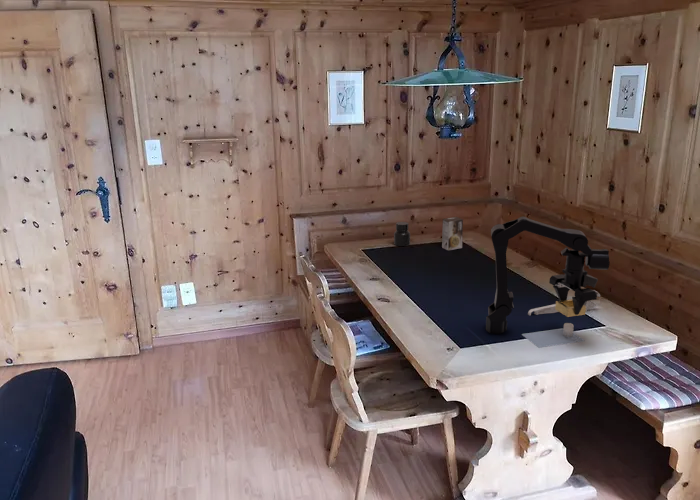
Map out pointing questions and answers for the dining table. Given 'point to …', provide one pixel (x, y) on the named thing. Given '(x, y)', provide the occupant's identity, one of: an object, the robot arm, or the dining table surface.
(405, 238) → the ink bottle
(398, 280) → the dining table surface
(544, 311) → the wrench
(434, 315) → the dining table surface
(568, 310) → the tan square tray
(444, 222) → the coffee box
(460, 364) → the dining table surface
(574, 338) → the board
